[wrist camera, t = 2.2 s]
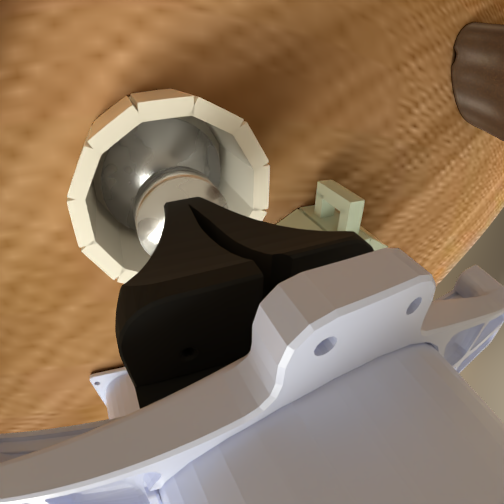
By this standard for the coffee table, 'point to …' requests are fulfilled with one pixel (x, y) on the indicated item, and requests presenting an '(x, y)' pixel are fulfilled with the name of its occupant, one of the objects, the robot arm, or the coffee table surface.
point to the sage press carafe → (333, 213)
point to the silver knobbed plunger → (158, 174)
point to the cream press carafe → (122, 122)
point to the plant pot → (480, 76)
